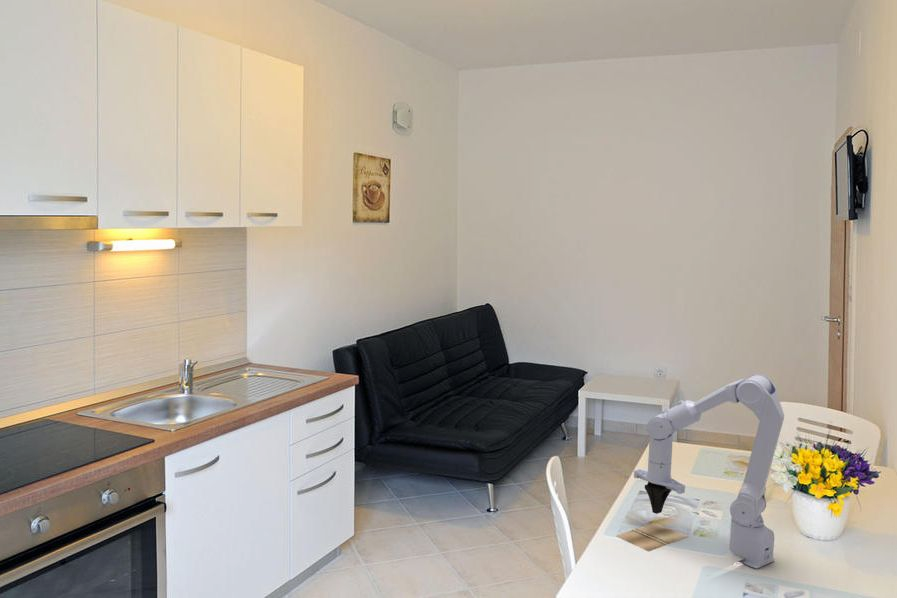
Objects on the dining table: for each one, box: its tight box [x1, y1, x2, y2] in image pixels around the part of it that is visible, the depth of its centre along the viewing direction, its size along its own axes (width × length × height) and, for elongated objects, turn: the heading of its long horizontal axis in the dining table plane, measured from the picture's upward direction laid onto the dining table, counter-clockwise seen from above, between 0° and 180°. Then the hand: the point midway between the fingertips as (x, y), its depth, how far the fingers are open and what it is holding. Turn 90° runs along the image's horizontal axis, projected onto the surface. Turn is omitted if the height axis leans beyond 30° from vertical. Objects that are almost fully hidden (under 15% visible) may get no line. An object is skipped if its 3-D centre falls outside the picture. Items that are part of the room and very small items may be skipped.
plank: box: [633, 522, 689, 545], centre depth 191 cm, size 10×8×2 cm
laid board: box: [615, 529, 668, 552], centre depth 186 cm, size 10×7×2 cm
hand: (657, 512), depth 194 cm, fingers closed
